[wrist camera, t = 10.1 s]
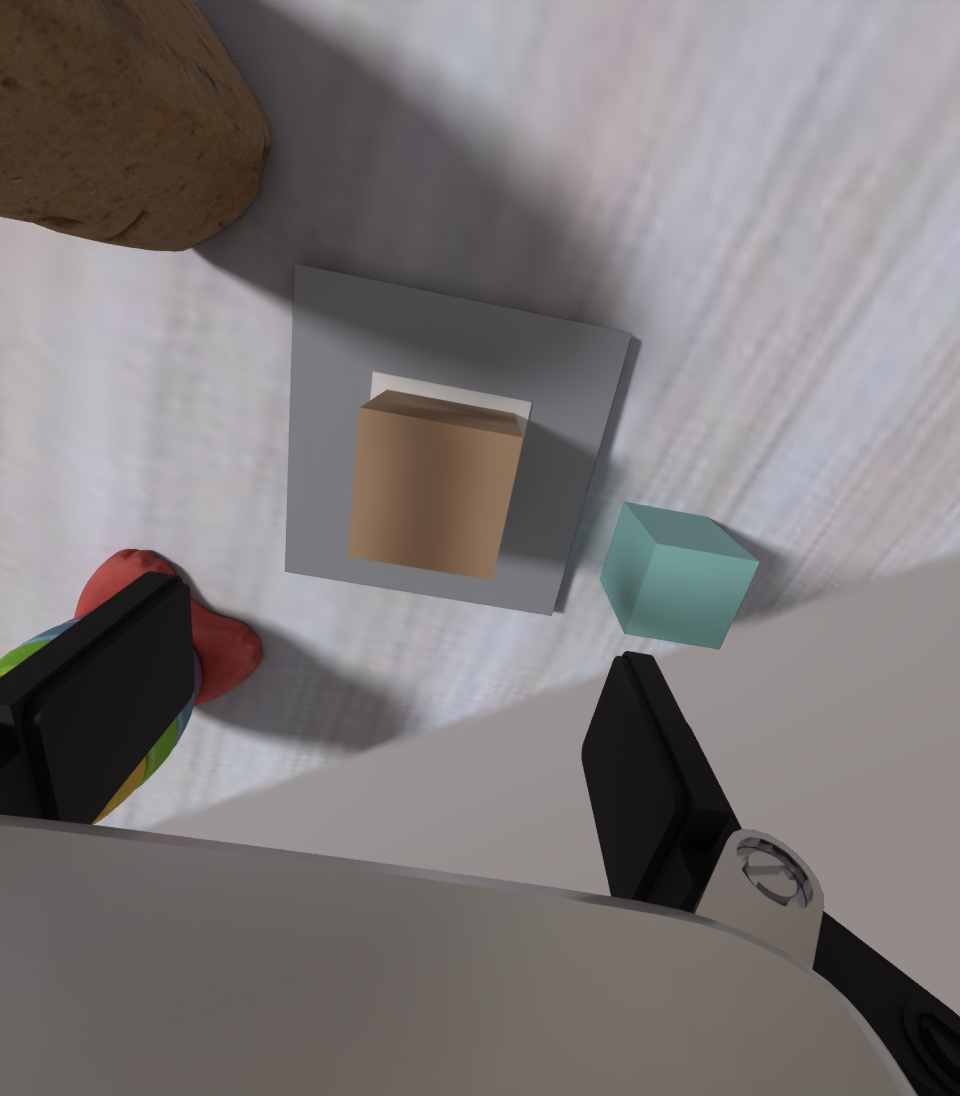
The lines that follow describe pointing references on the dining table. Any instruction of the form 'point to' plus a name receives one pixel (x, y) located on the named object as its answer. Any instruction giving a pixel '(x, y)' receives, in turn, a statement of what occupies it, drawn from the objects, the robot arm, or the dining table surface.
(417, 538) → the walnut cube
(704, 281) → the dining table surface
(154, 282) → the dining table surface
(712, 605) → the teal block
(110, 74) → the brown rounded lumpy part
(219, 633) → the stacking bear
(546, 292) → the dining table surface
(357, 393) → the plate
